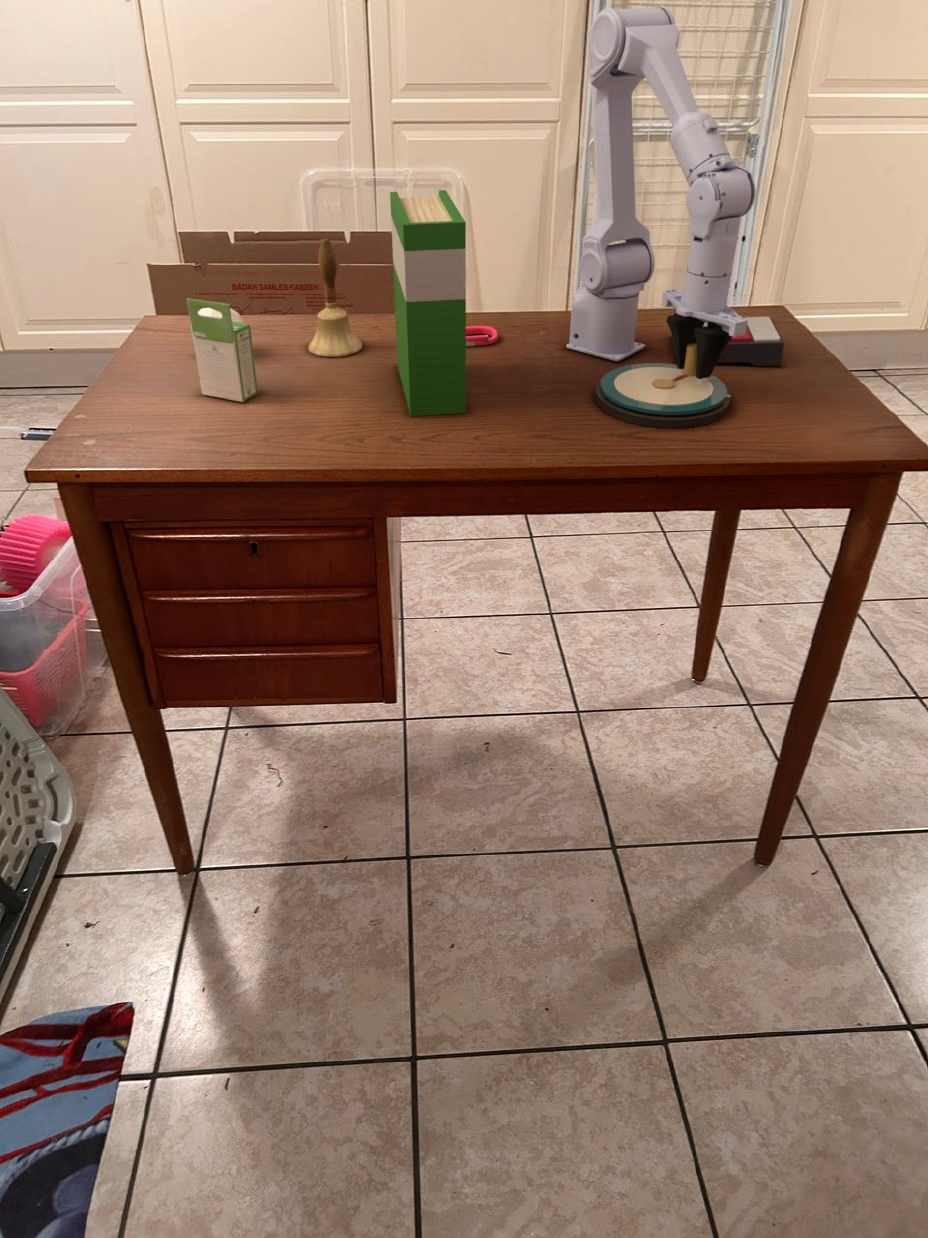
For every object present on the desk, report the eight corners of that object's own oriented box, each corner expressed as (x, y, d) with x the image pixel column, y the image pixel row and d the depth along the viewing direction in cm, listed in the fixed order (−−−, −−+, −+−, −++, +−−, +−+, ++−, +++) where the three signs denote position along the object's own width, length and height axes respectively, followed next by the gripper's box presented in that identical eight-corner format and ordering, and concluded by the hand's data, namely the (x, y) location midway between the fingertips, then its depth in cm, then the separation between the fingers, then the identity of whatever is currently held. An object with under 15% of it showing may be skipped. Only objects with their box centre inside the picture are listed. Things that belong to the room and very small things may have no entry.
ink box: (260, 393, 132) (247, 295, 125) (243, 404, 129) (228, 304, 122) (219, 385, 135) (203, 289, 127) (201, 395, 132) (184, 297, 124)
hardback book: (397, 367, 140) (390, 191, 126) (447, 364, 141) (445, 189, 127) (410, 416, 126) (403, 224, 112) (466, 412, 127) (465, 222, 113)
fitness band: (448, 347, 147) (448, 338, 146) (443, 334, 152) (443, 325, 151) (500, 345, 148) (500, 335, 147) (494, 332, 152) (494, 322, 152)
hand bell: (298, 353, 145) (286, 243, 136) (325, 335, 151) (315, 229, 142) (346, 360, 142) (338, 249, 133) (371, 342, 149) (365, 235, 139)
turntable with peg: (674, 426, 120) (679, 391, 117) (574, 388, 130) (577, 354, 127) (751, 391, 129) (757, 357, 126) (652, 358, 139) (656, 326, 136)
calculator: (672, 315, 148) (772, 312, 146) (670, 342, 150) (768, 340, 149) (679, 339, 139) (785, 337, 137) (677, 368, 141) (781, 366, 140)
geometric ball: (220, 368, 148) (217, 316, 148) (258, 357, 143) (255, 304, 144) (181, 356, 141) (178, 303, 141) (220, 345, 137) (217, 290, 137)
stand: (569, 403, 129) (569, 395, 129) (638, 366, 141) (639, 357, 140) (687, 440, 120) (689, 431, 119) (752, 396, 131) (753, 387, 130)
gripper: (649, 260, 127) (637, 360, 135) (723, 290, 117) (706, 396, 125) (690, 253, 130) (677, 351, 138) (766, 282, 119) (747, 385, 127)
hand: (693, 372), depth 131 cm, fingers open, 3 cm apart
